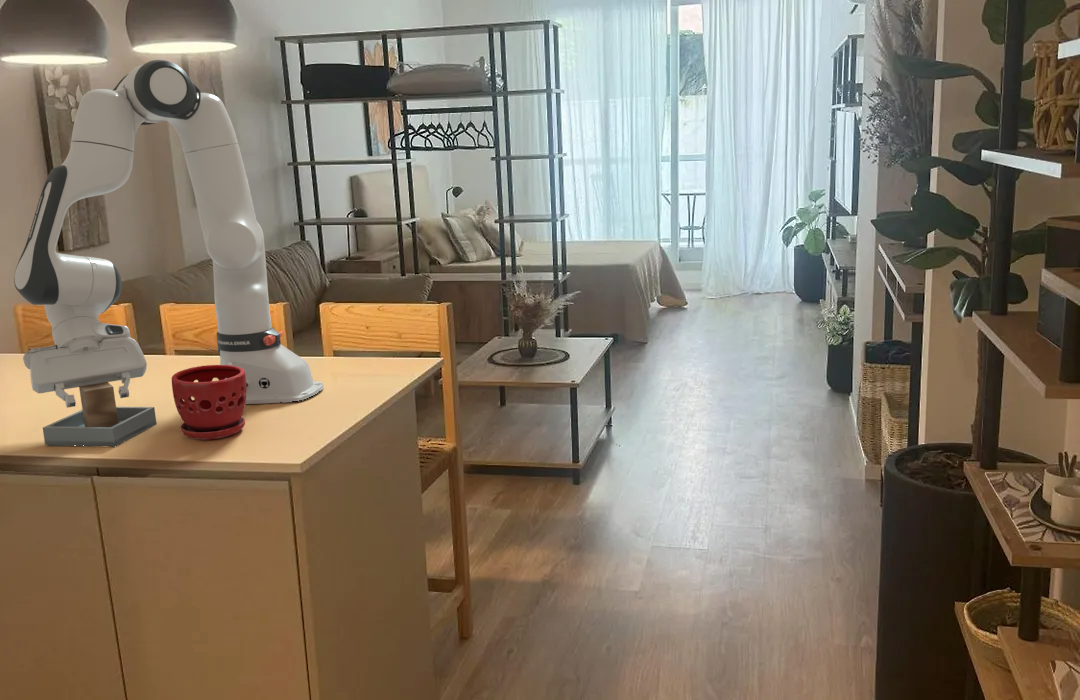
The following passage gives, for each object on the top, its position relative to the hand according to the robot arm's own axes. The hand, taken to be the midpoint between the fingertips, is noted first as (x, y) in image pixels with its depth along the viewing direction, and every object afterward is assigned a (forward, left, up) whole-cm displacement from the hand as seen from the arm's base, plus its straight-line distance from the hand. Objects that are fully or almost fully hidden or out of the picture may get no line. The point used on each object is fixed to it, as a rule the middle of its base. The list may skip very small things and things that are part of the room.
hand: (98, 400), depth 178 cm
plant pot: (-22, -2, -7) cm, 23 cm away
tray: (0, 0, -7) cm, 7 cm away
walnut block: (0, 0, -6) cm, 6 cm away
